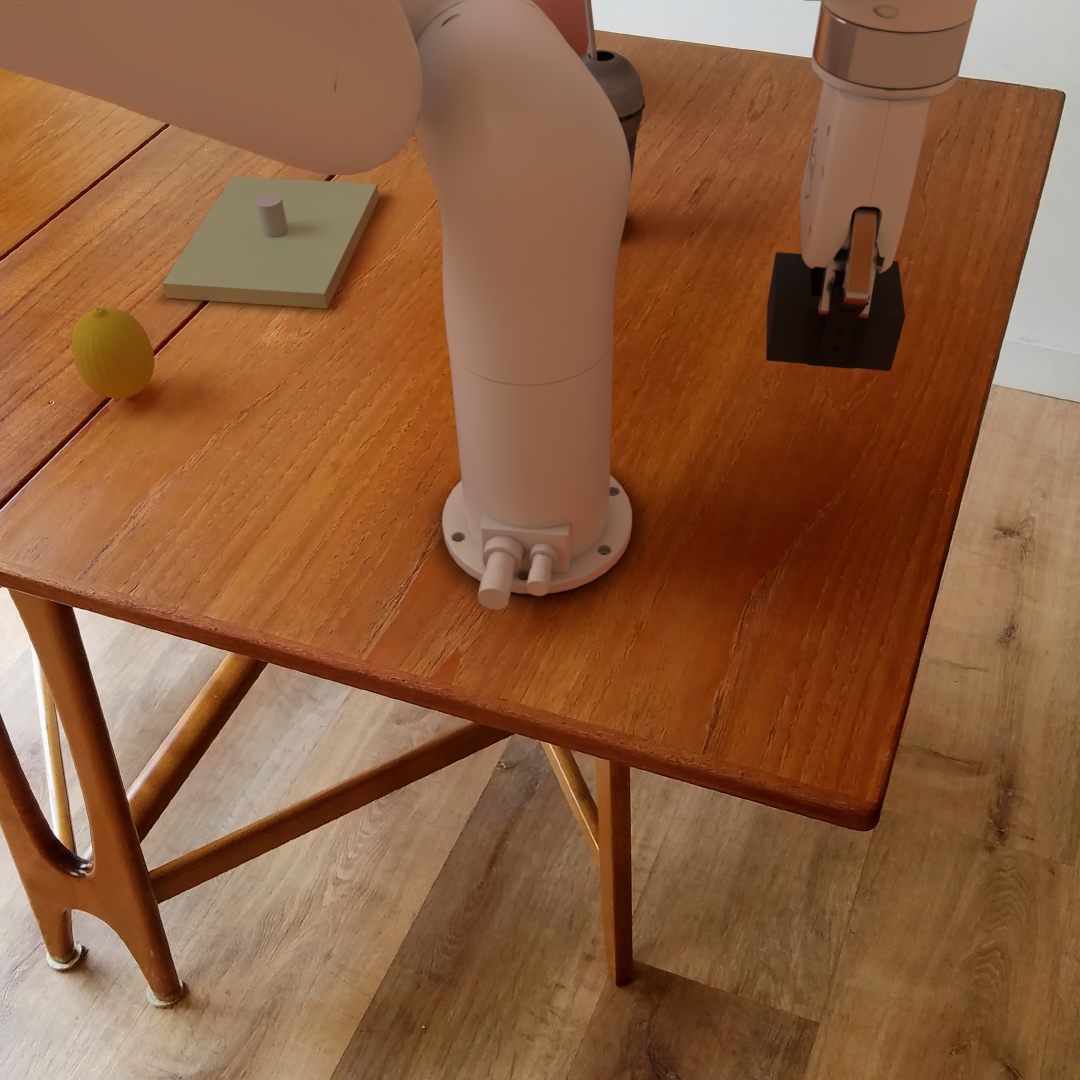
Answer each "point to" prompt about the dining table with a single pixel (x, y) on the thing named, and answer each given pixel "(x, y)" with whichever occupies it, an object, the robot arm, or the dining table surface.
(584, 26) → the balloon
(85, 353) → the lemon
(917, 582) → the dining table surface
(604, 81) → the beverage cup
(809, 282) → the black hollow block
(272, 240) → the base pad
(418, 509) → the dining table surface
